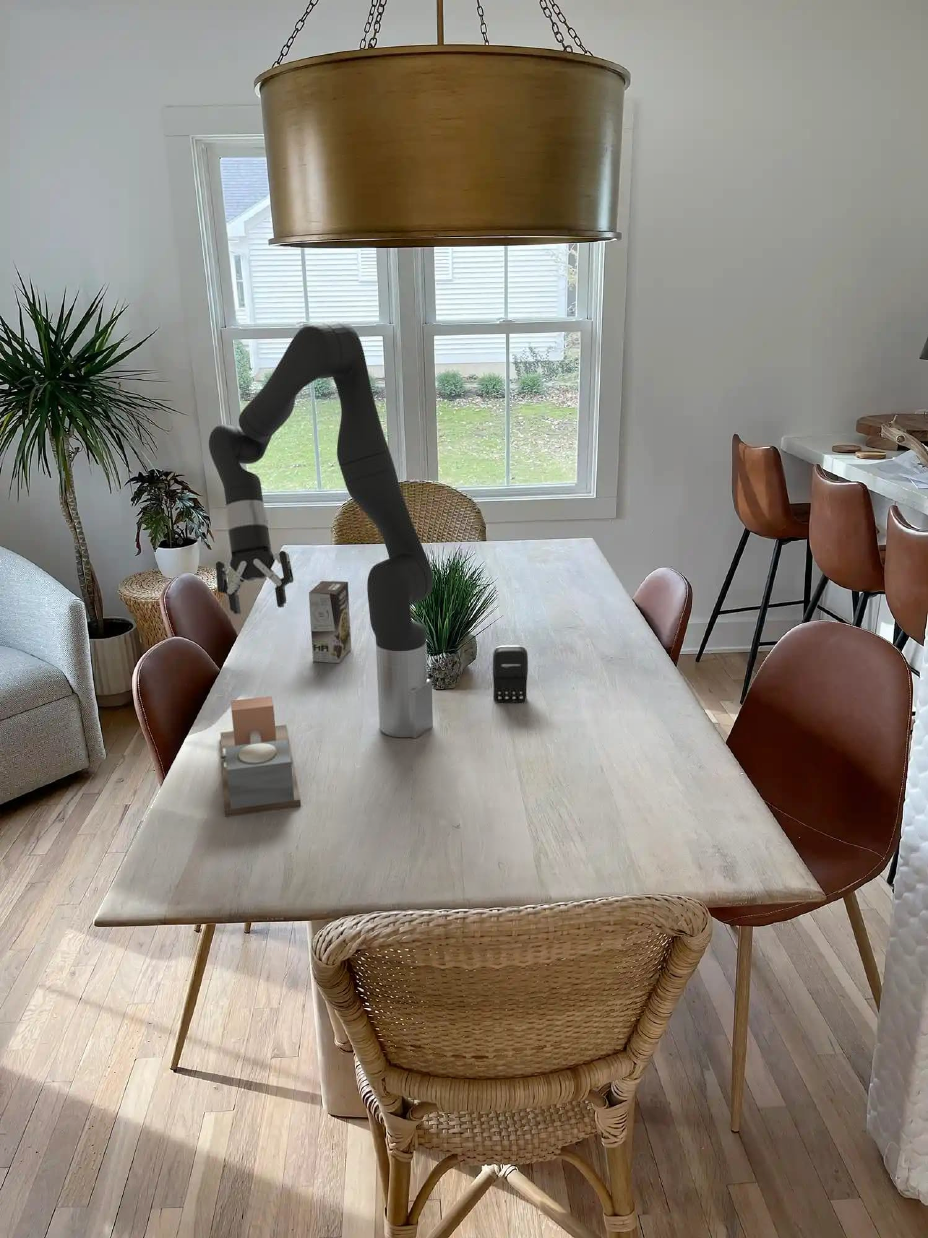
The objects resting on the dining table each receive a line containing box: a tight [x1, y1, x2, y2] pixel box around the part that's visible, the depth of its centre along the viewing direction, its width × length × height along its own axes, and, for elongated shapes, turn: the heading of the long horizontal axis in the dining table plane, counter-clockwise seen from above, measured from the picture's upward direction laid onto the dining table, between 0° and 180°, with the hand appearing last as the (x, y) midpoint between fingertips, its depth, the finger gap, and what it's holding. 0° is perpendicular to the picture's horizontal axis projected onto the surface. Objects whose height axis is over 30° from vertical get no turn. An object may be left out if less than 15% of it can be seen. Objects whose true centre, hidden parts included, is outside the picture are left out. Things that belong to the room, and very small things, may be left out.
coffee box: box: [308, 580, 352, 664], centre depth 215 cm, size 9×6×16 cm
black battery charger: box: [492, 644, 529, 704], centre depth 192 cm, size 7×4×11 cm, turn 90°
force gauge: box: [220, 724, 302, 817], centre depth 168 cm, size 28×12×9 cm, turn 14°
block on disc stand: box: [220, 695, 276, 760], centre depth 167 cm, size 9×10×10 cm
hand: (259, 610), depth 186 cm, fingers open, 8 cm apart
